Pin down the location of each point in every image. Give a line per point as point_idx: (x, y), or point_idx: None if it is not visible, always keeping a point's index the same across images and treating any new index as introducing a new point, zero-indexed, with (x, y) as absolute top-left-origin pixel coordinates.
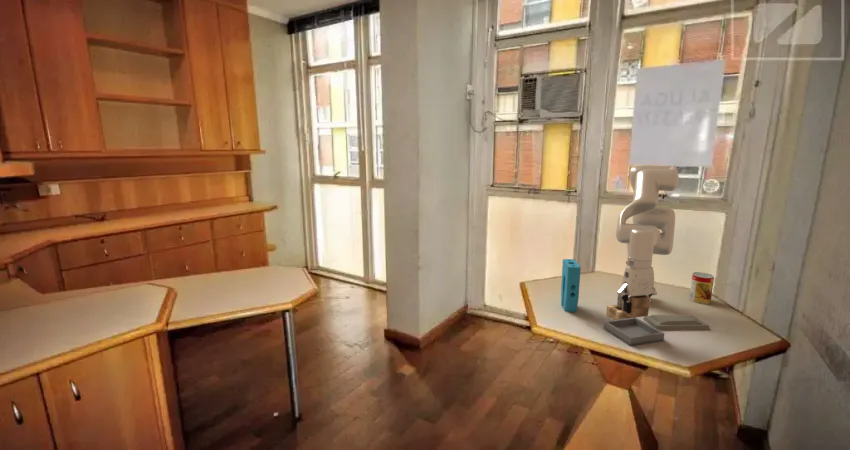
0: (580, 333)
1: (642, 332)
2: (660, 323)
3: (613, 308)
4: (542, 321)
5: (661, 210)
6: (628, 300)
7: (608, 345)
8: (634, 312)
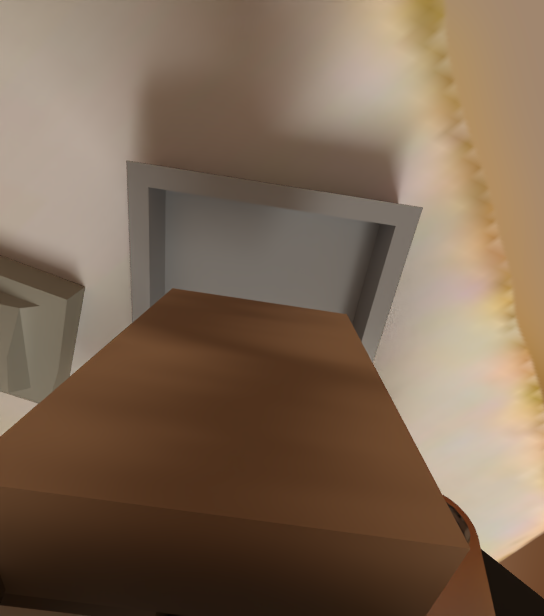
0: (485, 408)
1: (203, 285)
2: (24, 307)
3: None
4: (513, 531)
5: None
6: (469, 546)
7: (495, 264)
8: (355, 341)
